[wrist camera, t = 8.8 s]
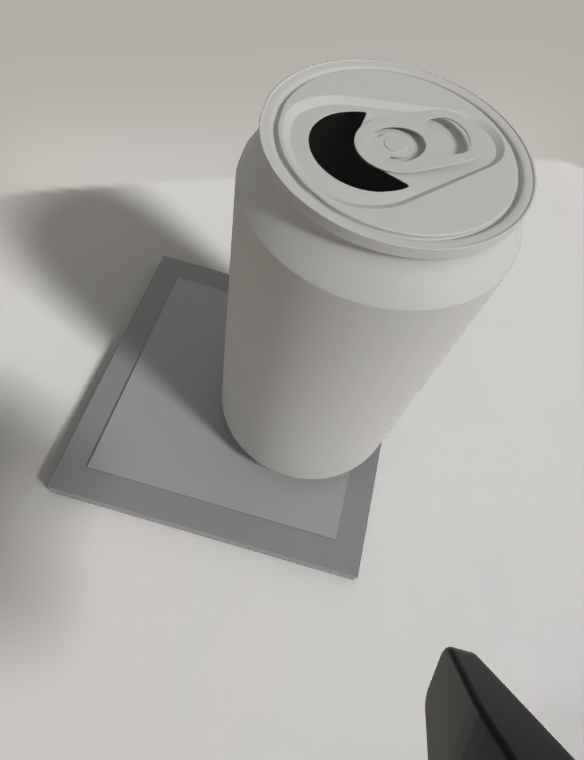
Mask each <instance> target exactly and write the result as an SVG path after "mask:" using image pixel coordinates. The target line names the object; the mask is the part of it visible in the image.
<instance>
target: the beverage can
mask: <svg viewBox="0 0 584 760" xmlns="http://www.w3.org/2000/svg"><path fill="white" fill-rule="evenodd" d="M535 192H536V171H535V166H534V162H533V159H532V157H531V154H530V152H529V149H528V147H527V146H526V144H525V142H524V141H523V139H522V138H521V136H520V134H519V133H518V132H517V130H516V129H515V128H514V127H513V126H512V125H511V123H510V122H509V121H508V120H507V119H506V118H505V117H504V116H503V115H502V114H501V113H500V112H499V111H497V110H496V109H495V108H494V107H493V106H492V105H490V104H489V103H488V102H486V101H485V100H484V99H482V98H480V97H479V96H478V95H476V94H475V93H473V92H471V91H470V90H468V89H466V88H465V87H463V86H461V85H459V84H457V83H455V82H453V81H451V80H449V79H447V78H445V77H442V76H440V75H437V74H435V73H432V72H429V71H426V70H423V69H420V68H417V67H413V66H409V65H405V64H401V63H396V62H390V61H383V60H374V59H342V60H333V61H327V62H323V63H319V64H315V65H312V66H309V67H306V68H304V69H301V70H299V71H297V72H295V73H293V74H291V75H290V76H288V77H287V78H285V79H284V80H283V81H281V82H280V83H279V84H278V85H277V86H276V87H275V88H274V89H273V90H272V91H271V92H270V94H269V95H268V97H267V99H266V101H265V104H264V106H263V109H262V112H261V115H260V119H259V128H258V130H257V131H256V132H255V133H254V135H252V137H251V138H250V139H249V140H248V142H247V144H246V146H245V148H244V150H243V152H242V155H241V157H240V160H239V163H238V166H237V171H236V181H235V196H234V212H233V227H232V243H231V258H230V274H229V289H228V305H227V320H226V335H225V351H224V366H223V382H222V407H223V412H224V416H225V419H226V422H227V425H228V427H229V429H230V431H231V433H232V435H233V436H234V438H235V440H236V441H237V443H238V444H239V445H240V446H241V447H242V448H243V449H244V451H245V452H246V453H247V454H248V455H250V456H251V457H252V458H253V459H255V460H256V461H257V462H259V463H260V464H262V465H263V466H265V467H267V468H269V469H270V470H273V471H275V472H277V473H280V474H283V475H286V476H290V477H294V478H300V479H324V478H329V477H334V476H338V475H340V474H343V473H345V472H348V471H350V470H352V469H353V468H355V467H357V466H358V465H360V464H361V463H363V462H364V461H365V460H366V459H367V458H368V457H369V456H370V455H371V454H372V453H373V452H374V451H375V449H376V448H377V447H378V446H379V444H380V443H381V442H382V440H383V439H384V438H385V436H386V435H387V434H388V432H389V431H390V430H391V428H392V427H393V426H394V424H395V423H396V422H397V420H398V419H399V418H400V416H401V415H402V414H403V412H404V411H405V410H406V408H407V407H408V406H409V404H410V403H411V402H412V400H413V399H414V398H415V396H416V395H417V394H418V392H419V391H420V390H421V388H422V387H423V386H424V384H425V383H426V382H427V380H428V379H429V378H430V376H431V375H432V374H433V372H434V371H435V370H436V368H437V367H438V366H439V364H440V363H441V362H442V360H443V359H444V358H445V356H446V355H447V354H448V352H449V351H450V350H451V348H452V347H453V346H454V344H455V343H456V342H457V340H458V339H459V338H460V336H461V335H462V334H463V332H464V331H465V330H466V328H467V327H468V326H469V324H470V323H471V322H472V320H473V319H474V318H475V316H476V315H477V314H478V312H479V311H480V310H481V308H482V307H483V306H484V304H485V303H486V302H487V300H488V299H489V298H490V296H491V295H492V294H493V292H494V291H495V290H496V288H497V287H498V286H499V284H500V283H501V282H502V280H503V279H504V278H505V276H506V275H507V274H508V272H509V271H510V269H511V268H512V266H513V264H514V262H515V260H516V258H517V256H518V253H519V249H520V246H521V240H522V220H523V218H524V217H525V215H526V214H527V212H528V211H529V209H530V207H531V205H532V203H533V200H534V197H535Z"/></svg>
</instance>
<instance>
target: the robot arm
mask: <svg viewBox="0 0 584 760" xmlns="http://www.w3.org/2000/svg"><path fill="white" fill-rule="evenodd" d="M425 714H426V731H427V749H428V760H575V759H574V758H573V757H572V756H571V755H570V754H569V753H568V752H567V751H566V750H565V749H564V748H563V746H562V745H561V744H560V743H559V742H558V741H557V740H556V739H555V738H554V737H553V736H552V735H551V734H550V733H549V732H548V731H547V730H546V728H545V727H544V726H543V725H542V724H541V723H540V722H539V721H538V720H537V719H536V718H535V717H534V716H533V715H532V714H531V713H530V711H529V710H528V709H527V708H526V707H525V706H524V705H523V704H522V703H521V702H520V701H519V700H518V699H517V698H516V697H515V696H514V695H513V693H512V692H511V691H510V690H509V689H508V688H507V687H506V686H505V685H504V684H503V683H502V682H501V681H500V680H499V679H498V678H497V676H496V675H495V674H494V673H493V672H492V671H491V670H490V669H489V668H488V667H487V666H486V665H485V664H484V663H483V662H482V661H481V660H480V658H479V657H478V656H477V655H475V654H474V653H472V652H468V651H465V650H461V649H457V648H454V647H448V648H445V650H444V651H443V652H442V654H441V657H440V659H439V662H438V664H437V667H436V670H435V672H434V675H433V677H432V680H431V683H430V685H429V688H428V691H427V695H426V701H425Z"/></svg>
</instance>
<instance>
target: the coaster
mask: <svg viewBox="0 0 584 760" xmlns="http://www.w3.org/2000/svg"><path fill="white" fill-rule="evenodd" d="M228 289H229V275H227V274H224V273H221V272H217V271H214V270H210V269H207V268H203V267H200V266H197V265H193V264H190V263H186V262H183V261H180V260H176V259H173V258H169V257H166V256H164V258H163V260H162V262H161V264H160V266H159V268H158V270H157V271H156V273H155V275H154V277H153V279H152V281H151V283H150V285H149V287H148V289H147V291H146V293H145V295H144V297H143V299H142V301H141V303H140V305H139V307H138V309H137V311H136V313H135V315H134V316H133V318H132V320H131V322H130V324H129V326H128V328H127V330H126V332H125V334H124V336H123V338H122V340H121V342H120V344H119V346H118V348H117V350H116V352H115V354H114V356H113V358H112V360H111V361H110V363H109V365H108V367H107V369H106V371H105V373H104V375H103V377H102V379H101V381H100V383H99V385H98V387H97V389H96V391H95V393H94V395H93V397H92V399H91V401H90V403H89V405H88V407H87V408H86V410H85V412H84V414H83V416H82V418H81V420H80V422H79V424H78V426H77V428H76V430H75V432H74V434H73V436H72V438H71V440H70V442H69V444H68V446H67V448H66V450H65V452H64V453H63V455H62V457H61V459H60V461H59V463H58V465H57V467H56V469H55V471H54V473H53V475H52V477H51V479H50V481H49V483H48V485H47V487H48V489H49V490H50V491H51V492H54V493H57V494H61V495H64V496H67V497H71V498H74V499H78V500H81V501H85V502H88V503H91V504H95V505H98V506H102V507H105V508H109V509H112V510H115V511H119V512H122V513H126V514H129V515H133V516H136V517H139V518H143V519H146V520H150V521H153V522H157V523H160V524H163V525H167V526H170V527H174V528H177V529H181V530H184V531H187V532H191V533H194V534H198V535H201V536H205V537H208V538H211V539H215V540H218V541H222V542H225V543H229V544H232V545H235V546H239V547H242V548H246V549H249V550H253V551H256V552H259V553H263V554H266V555H270V556H273V557H277V558H280V559H283V560H287V561H290V562H294V563H297V564H301V565H304V566H307V567H311V568H314V569H318V570H321V571H325V572H328V573H331V574H335V575H338V576H342V577H345V578H349V579H352V580H354V579H355V578H357V577H358V572H359V566H360V561H361V555H362V549H363V544H364V538H365V532H366V527H367V521H368V515H369V510H370V504H371V498H372V492H373V487H374V481H375V475H376V470H377V464H378V458H379V453H380V447H381V443H380V444H379V446H378V447H377V448H376V449H375V451H374V452H373V453H372V454H371V455H370V456H369V457H368V458H367V459H366V460H365V461H364V462H363V463H361V464H360V465H358V466H357V467H355V468H353V469H352V470H350V471H348V472H345V473H343V474H340V475H338V476H334V477H329V478H324V479H300V478H294V477H290V476H286V475H283V474H280V473H277V472H275V471H273V470H270V469H269V468H267V467H265V466H263V465H262V464H260V463H259V462H257V461H256V460H255V459H253V458H252V457H251V456H250V455H248V454H247V453H246V452H245V451H244V449H243V448H242V447H241V446H240V445H239V444H238V443H237V441H236V440H235V438H234V436H233V435H232V433H231V431H230V429H229V427H228V425H227V422H226V419H225V416H224V412H223V407H222V382H223V366H224V351H225V335H226V320H227V305H228Z"/></svg>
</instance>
